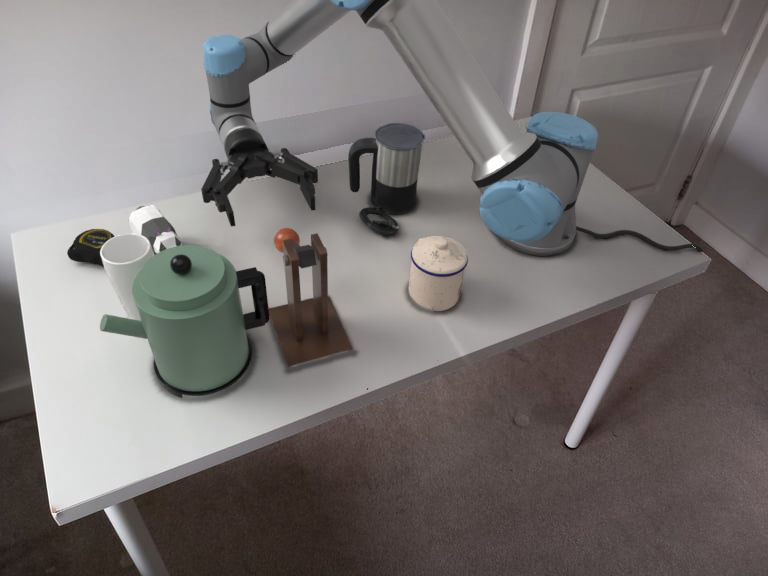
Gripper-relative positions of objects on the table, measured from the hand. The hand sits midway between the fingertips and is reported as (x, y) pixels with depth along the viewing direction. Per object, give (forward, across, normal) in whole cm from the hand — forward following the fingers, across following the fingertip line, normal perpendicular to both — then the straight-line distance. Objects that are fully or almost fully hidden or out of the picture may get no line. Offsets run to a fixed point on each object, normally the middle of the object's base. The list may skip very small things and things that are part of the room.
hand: (273, 211), depth 98 cm
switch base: (+19, 0, -10) cm, 21 cm away
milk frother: (-6, -24, -10) cm, 26 cm away
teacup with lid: (+16, -22, -10) cm, 29 cm away
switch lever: (+14, 0, +1) cm, 14 cm away
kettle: (+19, +16, -10) cm, 27 cm away
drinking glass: (+8, +23, -10) cm, 26 cm away
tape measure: (-9, +29, -10) cm, 32 cm away
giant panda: (-5, +18, -10) cm, 22 cm away
